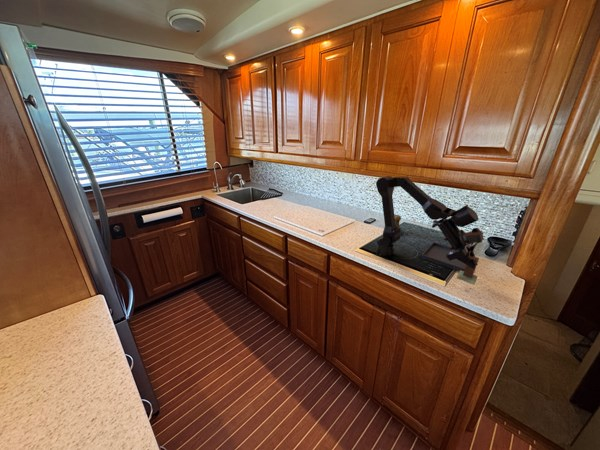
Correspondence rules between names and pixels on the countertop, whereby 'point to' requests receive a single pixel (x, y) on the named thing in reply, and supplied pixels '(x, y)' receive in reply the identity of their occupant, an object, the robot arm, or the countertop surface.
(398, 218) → the cork
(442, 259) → the tray
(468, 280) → the brown green handled brush
